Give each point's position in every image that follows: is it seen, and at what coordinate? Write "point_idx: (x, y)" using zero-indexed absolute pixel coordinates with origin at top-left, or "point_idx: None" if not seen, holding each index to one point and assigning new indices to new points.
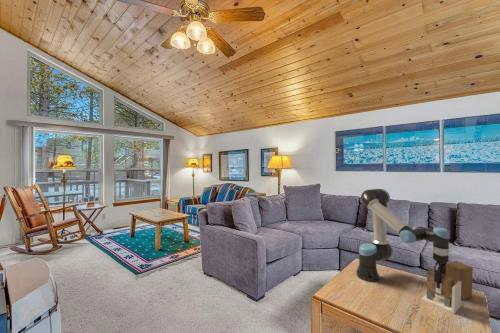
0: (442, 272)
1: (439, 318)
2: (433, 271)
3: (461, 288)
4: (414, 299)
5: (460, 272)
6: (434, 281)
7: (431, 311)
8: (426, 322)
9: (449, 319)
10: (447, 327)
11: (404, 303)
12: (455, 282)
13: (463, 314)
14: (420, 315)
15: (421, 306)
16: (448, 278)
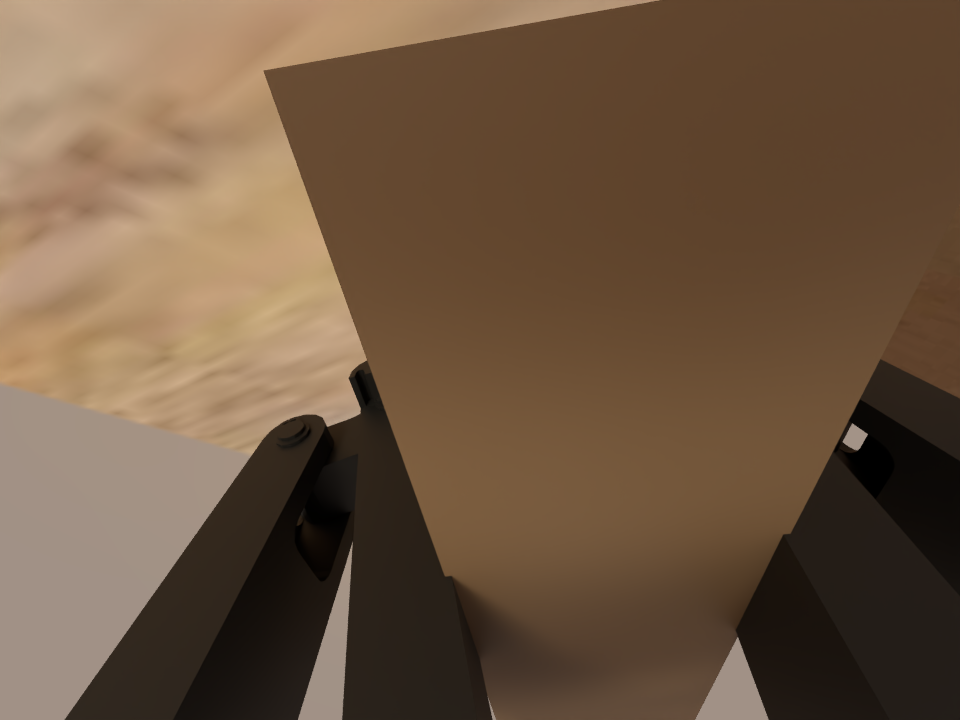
0: (772, 682)
1: (244, 369)
2: (733, 363)
3: None
4: (269, 30)
5: None
6: (273, 431)
7: (263, 290)
8: (71, 351)
9: (316, 403)
10: (208, 435)
11: (17, 11)
12: (930, 360)
13: None
14: (83, 276)
15: (228, 189)
16: (496, 717)
